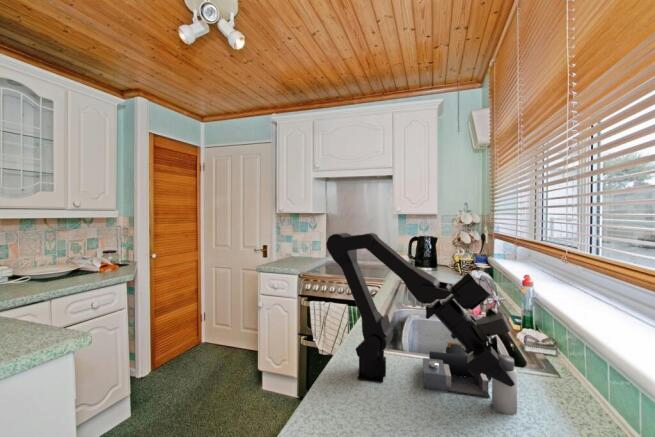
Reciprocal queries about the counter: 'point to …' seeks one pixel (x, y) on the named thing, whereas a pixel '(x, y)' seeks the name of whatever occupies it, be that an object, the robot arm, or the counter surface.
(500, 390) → the grey domed cylinder
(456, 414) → the counter surface
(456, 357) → the pipe connector
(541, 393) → the counter surface
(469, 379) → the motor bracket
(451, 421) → the counter surface
